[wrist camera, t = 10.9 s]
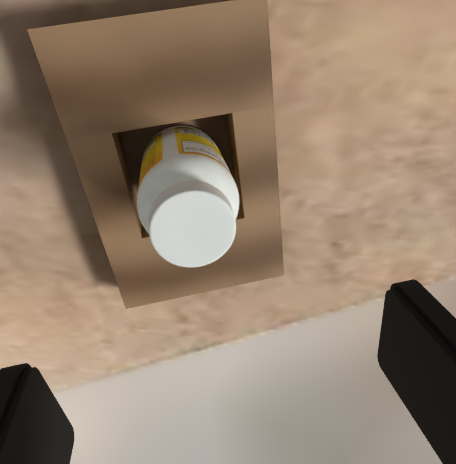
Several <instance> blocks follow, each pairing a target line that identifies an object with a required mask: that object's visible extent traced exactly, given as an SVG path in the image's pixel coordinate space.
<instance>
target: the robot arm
mask: <svg viewBox="0 0 456 464" xmlns="http://www.w3.org/2000/svg"><path fill="white" fill-rule="evenodd" d="M378 362H379V365H380V367H381V369H382V371H383V372H384V374H385V375H386V377H387V378H388V380H389V381H390V383H391V384H392V386H393V388H394V389H395V391H396V392H397V394H398V395H399V397H400V398H401V400H402V401H403V403H404V404H405V406H406V408H407V409H408V410H409V412H410V414H411V415H412V417H413V418H414V420H415V421H416V423H417V424H418V426H419V427H420V429H421V431H422V432H423V434H424V435H425V437H426V438H427V440H428V441H429V443H430V444H431V446H432V448H433V449H434V451H435V452H436V454H437V455H438V457H439V458H440V460H441V461H442V463H443V464H456V318H455V317H454V316H452V314H451V313H450V312H449V311H448V310H447V309H446V308H445V307H444V306H442V304H440V303H439V302H438V301H437V300H436V299H435V298H434V297H433V296H432V295H431V294H430V293H429V292H428V291H427V290H426V289H425V288H424V287H423V286H422V285H421V284H420V283H419V282H418V281H417V280H414V279H413V280H408V281H404V282H399V283H395V284H392V285H391V288H390V290H388V291H387V292H386V294H385V302H384V310H383V317H382V325H381V332H380V340H379V348H378ZM73 444H74V431H73V427H72V425H71V423H70V422H69V420H68V418H67V417H66V415H65V413H64V412H63V410H62V408H61V407H60V405H59V404H58V402H57V400H56V398H55V397H54V395H53V393H52V392H51V390H50V388H49V387H48V385H47V383H46V382H45V380H44V378H43V377H42V375H41V373H40V372H39V370H38V369H37V368H36V367H34V368H32V367H31V366H30V365H29V364H27V363H25V364H20V365H15V366H11V367H6V368H2V369H0V464H70V459H71V454H72V449H73Z"/></svg>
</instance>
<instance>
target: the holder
mask: <svg viewBox="0 0 456 464" xmlns="http://www.w3.org/2000/svg"><path fill="white" fill-rule="evenodd" d="M27 31H28V33H29V36H30V39H31V42H32V45H33V47H34V50H35V53H36V56H37V59H38V62H39V64H40V67H41V70H42V73H43V76H44V79H45V81H46V84H47V87H48V90H49V93H50V95H51V98H52V101H53V104H54V107H55V110H56V112H57V115H58V118H59V121H60V124H61V127H62V129H63V132H64V135H65V138H66V141H67V143H68V146H69V149H70V152H71V155H72V158H73V160H74V163H75V166H76V169H77V172H78V175H79V177H80V180H81V183H82V186H83V189H84V191H85V194H86V197H87V200H88V203H89V206H90V208H91V211H92V214H93V217H94V220H95V223H96V225H97V228H98V231H99V234H100V237H101V239H102V242H103V245H104V248H105V251H106V254H107V256H108V259H109V262H110V265H111V268H112V271H113V273H114V276H115V279H116V282H117V285H118V287H119V290H120V293H121V296H122V299H123V302H124V304H125V307H126V309H127V308H132V307H137V306H142V305H146V304H151V303H156V302H160V301H165V300H170V299H174V298H179V297H184V296H188V295H193V294H198V293H203V292H207V291H212V290H217V289H221V288H226V287H231V286H235V285H240V284H245V283H249V282H254V281H259V280H264V279H268V278H273V277H278V276H282V275H284V268H283V251H282V235H281V218H280V202H279V185H278V169H277V152H276V136H275V119H274V103H273V87H272V70H271V54H270V37H269V21H268V4H267V0H231V1H224V2H217V3H210V4H203V5H196V6H189V7H182V8H175V9H168V10H161V11H154V12H147V13H139V14H132V15H125V16H118V17H111V18H104V19H97V20H90V21H83V22H76V23H69V24H62V25H55V26H48V27H41V28H34V29H27ZM223 114H226V116H227V124H228V132H229V140H230V148H231V156H232V164H233V172H234V180H235V183H236V186H237V189H238V193H239V210H238V214H237V217H236V234H235V238H234V241H233V243H232V245H231V246H230V248H229V249H228V250H227V252H226V253H225V254H224V255H223V256H222V257H220V258H219V259H218V260H216V261H214V262H212V263H210V264H207V265H204V266H201V267H181V266H177V265H174V264H172V263H170V262H168V261H166V260H165V259H164V258H162V257H161V256H160V255H159V254H158V253H157V251H156V250H155V249H154V247H153V245H152V243H151V240H150V236H149V234H148V232H147V231H146V230H145V228H144V227H143V225H142V223H141V221H140V218H139V215H138V211H137V198H136V195H135V191H134V188H133V184H132V180H131V177H130V173H129V170H128V166H127V163H126V159H125V155H124V152H123V148H122V145H121V141H120V137H119V134H118V132H123V131H129V130H135V129H141V128H147V127H152V126H158V125H164V124H170V123H176V122H182V121H188V120H194V119H200V118H205V117H211V116H217V115H223Z"/></svg>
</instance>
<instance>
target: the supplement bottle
mask: <svg viewBox="0 0 456 464" xmlns="http://www.w3.org/2000/svg"><path fill="white" fill-rule="evenodd" d="M238 210H239V193H238V189H237V186H236V183H235V181H234V179H233V177H232V175H231V173H230V171H229V169H228V167H227V165H226V163H225V161H224V159H223V157H222V155H221V153H220V151H219V149H218V147H217V145H216V144H215V142H214V141H213V140H212V139H211V138H210V137H209V136H208V135H207V134H206V133H204V132H203V131H201V130H199V129H196V128H194V127H190V126H174V127H170V128H167V129H164V130H162V131H161V132H159V133H158V134H156V135H155V136H154V137H153V138H152V139H151V141H150V142H149V143H148V145H147V147H146V149H145V151H144V154H143V158H142V164H141V172H140V179H139V186H138V193H137V211H138V215H139V218H140V221H141V223H142V225H143V227H144V228H145V230H146V231H147V232H148V234H149V236H150V240H151V243H152V245H153V247H154V249H155V250H156V251H157V253H158V254H159V255H160V256H161V257H162V258H164V259H165V260H166V261H168V262H170V263H172V264H174V265H177V266H181V267H201V266H204V265H207V264H210V263H212V262H214V261H216V260H218V259H219V258H220V257H222V256H223V255H224V254H225V253H226V252H227V250H228V249H229V248H230V246H231V245H232V243H233V241H234V238H235V234H236V217H237V214H238Z"/></svg>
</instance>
